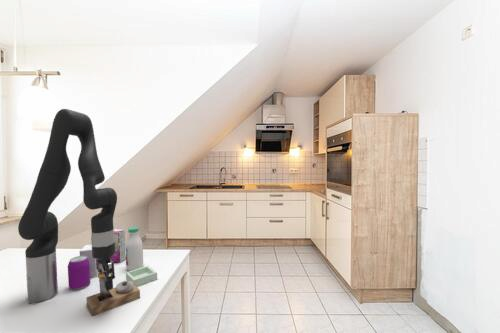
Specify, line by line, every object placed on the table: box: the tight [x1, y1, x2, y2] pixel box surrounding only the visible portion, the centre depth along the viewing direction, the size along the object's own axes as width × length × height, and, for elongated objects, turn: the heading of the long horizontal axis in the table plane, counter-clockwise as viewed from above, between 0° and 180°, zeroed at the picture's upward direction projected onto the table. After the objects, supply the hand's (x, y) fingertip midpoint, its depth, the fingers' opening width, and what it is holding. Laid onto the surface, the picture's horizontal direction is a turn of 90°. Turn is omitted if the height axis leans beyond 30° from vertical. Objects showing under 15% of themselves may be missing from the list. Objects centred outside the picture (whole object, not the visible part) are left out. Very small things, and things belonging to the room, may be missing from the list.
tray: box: [125, 265, 158, 288], centre depth 113 cm, size 10×10×3 cm
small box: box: [79, 244, 98, 279], centre depth 118 cm, size 8×6×13 cm
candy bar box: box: [110, 228, 126, 264], centre depth 133 cm, size 11×5×16 cm, turn 82°
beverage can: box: [67, 255, 91, 291], centre depth 108 cm, size 8×8×12 cm
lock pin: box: [97, 272, 111, 301], centre depth 94 cm, size 4×4×12 cm
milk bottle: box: [125, 226, 144, 272], centre depth 124 cm, size 8×8×20 cm
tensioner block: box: [86, 280, 141, 317], centre depth 96 cm, size 16×9×6 cm, turn 134°
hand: (106, 285), depth 94 cm, fingers open, 8 cm apart
